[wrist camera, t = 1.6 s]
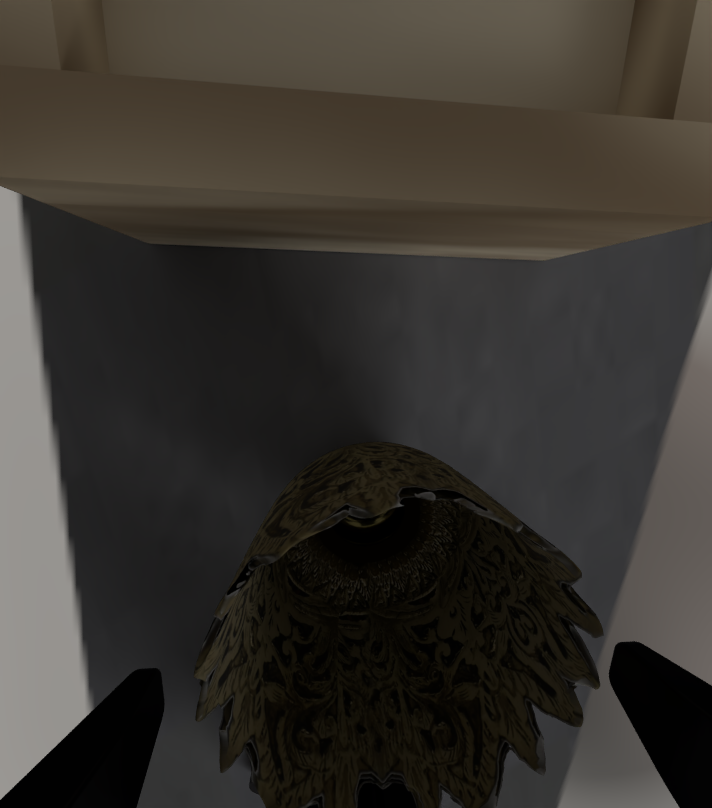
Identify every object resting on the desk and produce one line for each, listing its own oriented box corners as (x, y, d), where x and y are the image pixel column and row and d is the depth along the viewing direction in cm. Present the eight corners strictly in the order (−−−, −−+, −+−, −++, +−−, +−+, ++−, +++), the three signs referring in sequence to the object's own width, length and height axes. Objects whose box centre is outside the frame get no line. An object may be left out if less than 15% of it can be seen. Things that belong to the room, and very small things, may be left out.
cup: (255, 565, 15) (179, 848, 7) (273, 383, 13) (201, 489, 5) (435, 578, 16) (547, 842, 8) (474, 409, 14) (666, 534, 6)
